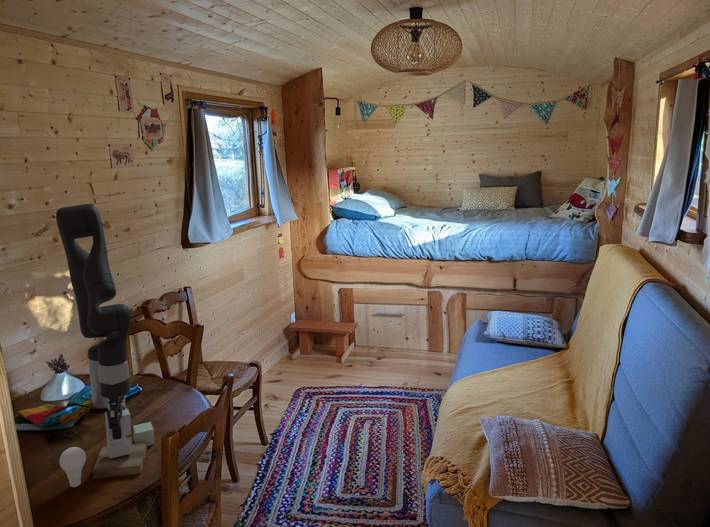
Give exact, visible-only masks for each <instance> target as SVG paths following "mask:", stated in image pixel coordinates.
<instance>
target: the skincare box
mask: <svg viewBox="0 0 710 527" xmlns="http://www.w3.org/2000/svg"><path fill="white" fill-rule="evenodd" d="M118 415H120V413H118ZM104 418H105V421H104V422H105V433H106V434H105V436H106V445H107V452H108V455H109V458H114V457H118V456H123V455H126V454H130V453H132V443H133V442H132V441H133V440H132V427H131V425H132V423H131V421H132V420H131V413H130V411H129V408H128V407H126V408H125V409H123V417H122V418H121V432H122V437H121V439H116V440H114V439H113V436H112V429H109V422H108V416H107V411H105V412H104ZM113 423H116V422H113Z"/></svg>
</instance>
